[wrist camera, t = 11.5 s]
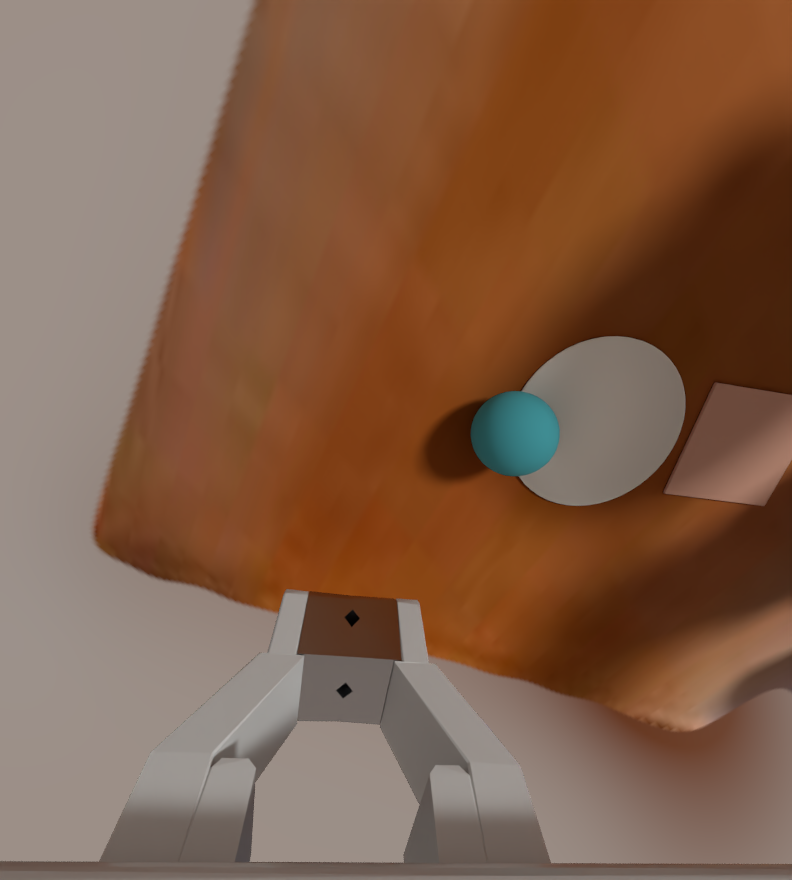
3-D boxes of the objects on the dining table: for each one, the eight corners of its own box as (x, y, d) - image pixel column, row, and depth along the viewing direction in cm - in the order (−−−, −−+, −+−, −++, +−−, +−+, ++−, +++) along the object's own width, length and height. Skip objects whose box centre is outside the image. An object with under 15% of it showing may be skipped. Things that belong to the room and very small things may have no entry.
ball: (499, 463, 21) (441, 420, 25) (526, 506, 25) (472, 462, 29) (569, 394, 22) (501, 362, 26) (586, 447, 25) (524, 411, 29)
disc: (698, 458, 30) (700, 459, 30) (541, 529, 32) (542, 531, 32) (661, 299, 25) (663, 300, 25) (479, 392, 27) (480, 393, 27)
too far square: (823, 400, 29) (825, 400, 29) (762, 504, 32) (764, 506, 32) (714, 382, 28) (717, 382, 28) (662, 492, 31) (664, 493, 31)
